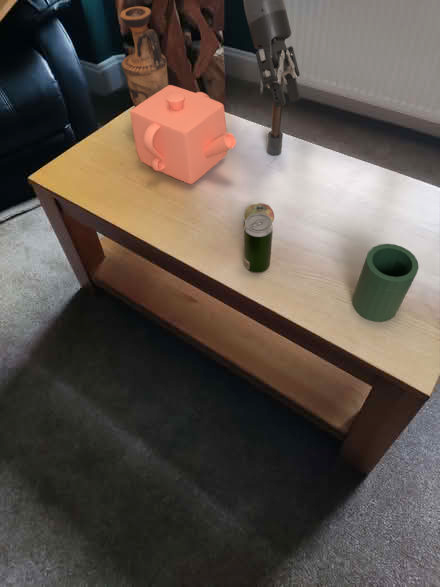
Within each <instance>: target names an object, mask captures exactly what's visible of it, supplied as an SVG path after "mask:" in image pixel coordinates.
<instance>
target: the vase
mask: <svg viewBox="0 0 440 587" xmlns="http://www.w3.org/2000/svg"><path fill="white" fill-rule="evenodd" d="M151 16H152V10H151V9H150V8H149V7H146V6H138V5H137V6H131V7H128V8H125V9H124V10H122V11H121V12H120V14H119V18H120V20H122V22H123V23H124V25H125V27H127V28H129V29H130V31H131V34H132V39H133V43H134V44H133V45H134V53H132V54H129V55H127V56H126V57H124V58H123V59H122V62H121V68H122V70H123V74H124V77H125V80H126V85H127V87H128V90H129V91H128V92H129V94H130V99H131V101H132V104H133V108H135V107H136V106H138V105H139V104H141V103H142V102H144V101H145V100H146V99H148V98H150V97H151V96H153V95H154V94H156V93H157V92H159V91H160V90H162V89H164V88H165V87H167V86H168V85H169V76H168V63H167V57H166V56H165V55H164V54H163V53H162V49H161V47H160V40H159V36H158V34H157V32H156V31H155V29H153V28H147V27H148V24H149V23H150V20H151Z"/></svg>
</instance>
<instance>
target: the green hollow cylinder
mask: <svg viewBox="0 0 440 587" xmlns="http://www.w3.org/2000/svg"><path fill="white" fill-rule="evenodd" d="M418 272H419V261H418V259H417V258H416V256H415V255H414V253H412V252H411V251H410V250H409V249H408V248H405V247H404V246H401V245H398V244H395V243H381V244H377V245H376V246H375V245H374V246H373V247H372V248H370V250H368V251H367V254H366V257H365V260H364V262H363V265H362V268H361V271H360V274H359V277H358V280H357V282H356V285H355V288H354V292H353V295H352V298H351V301H352V302H351V304H352V306H353V309H354V311H355V312H356V313H357V314H358V315H359V316H360V317H362V318H364V319H365V320H368V321H371V322H376V323H382V322H383V323H384V322H388V321H390V320H391V319H393V318H394V317H395V316H396V315H397V313H398V311H399V310H400V307H401V306H402V304H403V301H404V300H405V298H406V296H407V294H408V292H409V291H410V290H409V289H410V288H411V286H412V285H413V284H412V283H413V282H414V280H415V278H416V276H417V274H418Z"/></svg>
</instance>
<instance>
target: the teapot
mask: <svg viewBox="0 0 440 587" xmlns="http://www.w3.org/2000/svg"><path fill="white" fill-rule="evenodd" d="M129 113H130V120H131V127H132V134H133V140H134V144H135V145H134V146H135V150H136V153H137V156H138V159H139V162H141V163H143V164H145V165H147V166H149V167H150V168H152V169H153V170H154V171H156V172H161V173H163V174H165V175H167V176H169V177H172V178H174V179H177V180H178V181H180V180H181V181H180V182H182V181H184V182H183V183H185V184H186V183H187V184H189V185H193V184H194V183H196V182H197V181H198V180H200V178H202V177H203V176H204V175H206V173H207V172H209V171H210V170H211V169H212V168H213V167H215V166H216V165H217V164H218V163H219V162H220V161H221V160H222V159H224V158H225V157H226V156H227V154H228V151H230V150H231V149H234V148H235V147H236V144H237V139H236V137H235V136H234V134H233V133H231V132H227V120H226V113H225V105H224V104H223V103H222V102H220V101H218V100H216V99H213V98H211V97H210V96H209V95H208V94H207V93H205V92H203V91H196V92H194V91H190V90H187V89H186V88H182V87H179V86H175V85H172V84H168V86H167V87H165V88H164V89H162V90H160V91H159V92H157V93H156V94H154V95H153V96H151V97H150V98H148V99H146V100H145V101H144V102H142V103H141V104H139V105H138V106H136V107H133V108H132V109H130V111H129Z"/></svg>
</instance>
